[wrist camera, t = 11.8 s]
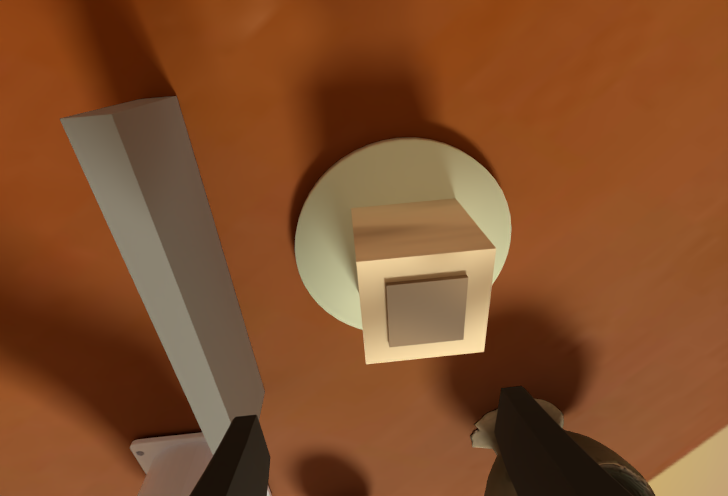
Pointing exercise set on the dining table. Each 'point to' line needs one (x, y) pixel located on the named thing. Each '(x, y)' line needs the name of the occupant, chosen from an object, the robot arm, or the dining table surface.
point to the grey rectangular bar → (171, 251)
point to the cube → (422, 280)
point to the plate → (383, 187)
